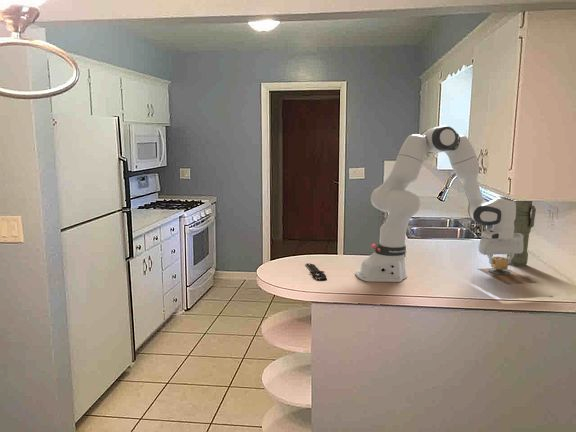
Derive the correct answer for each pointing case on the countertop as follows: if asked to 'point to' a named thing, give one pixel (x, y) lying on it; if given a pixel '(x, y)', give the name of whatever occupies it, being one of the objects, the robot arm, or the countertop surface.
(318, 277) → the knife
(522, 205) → the thermos
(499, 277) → the bobbin board
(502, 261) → the coil ring
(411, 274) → the countertop surface
